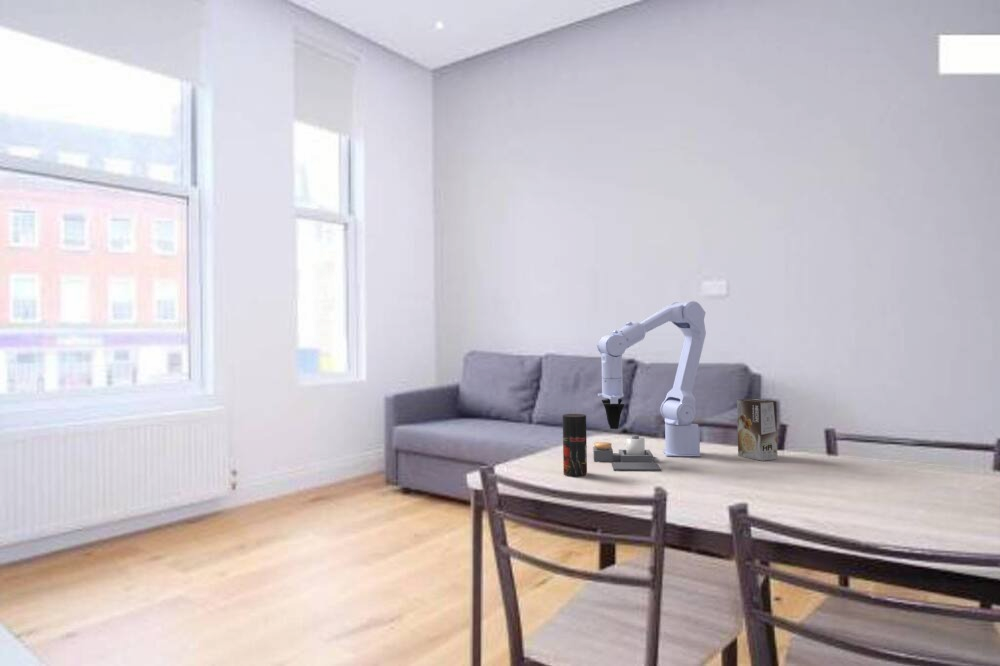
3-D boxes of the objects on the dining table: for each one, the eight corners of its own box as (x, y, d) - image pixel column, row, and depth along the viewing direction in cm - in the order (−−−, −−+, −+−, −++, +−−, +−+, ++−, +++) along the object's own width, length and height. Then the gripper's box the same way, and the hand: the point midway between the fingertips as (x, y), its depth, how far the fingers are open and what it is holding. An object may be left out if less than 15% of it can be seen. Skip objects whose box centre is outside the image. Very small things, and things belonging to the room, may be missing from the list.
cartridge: (643, 458, 186) (643, 434, 186) (645, 461, 182) (645, 437, 181) (625, 458, 187) (625, 434, 187) (627, 461, 182) (627, 437, 182)
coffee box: (778, 459, 182) (778, 400, 182) (761, 461, 179) (761, 402, 179) (753, 453, 190) (752, 397, 190) (736, 455, 188) (735, 399, 187)
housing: (649, 456, 188) (649, 446, 188) (653, 463, 180) (653, 452, 179) (593, 456, 190) (592, 446, 190) (594, 462, 181) (594, 451, 181)
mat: (656, 464, 178) (656, 462, 178) (661, 471, 170) (661, 469, 170) (611, 464, 179) (611, 462, 179) (613, 470, 171) (613, 468, 171)
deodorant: (588, 476, 165) (587, 416, 165) (564, 477, 165) (563, 417, 165) (585, 471, 171) (584, 413, 171) (562, 471, 171) (561, 413, 171)
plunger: (611, 455, 187) (610, 442, 187) (612, 458, 182) (612, 445, 182) (594, 455, 188) (593, 442, 188) (594, 458, 183) (594, 445, 183)
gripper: (596, 376, 192) (597, 422, 192) (598, 380, 178) (599, 430, 178) (621, 375, 191) (622, 422, 192) (625, 380, 177) (626, 430, 177)
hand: (613, 426), depth 185 cm, fingers open, 7 cm apart
